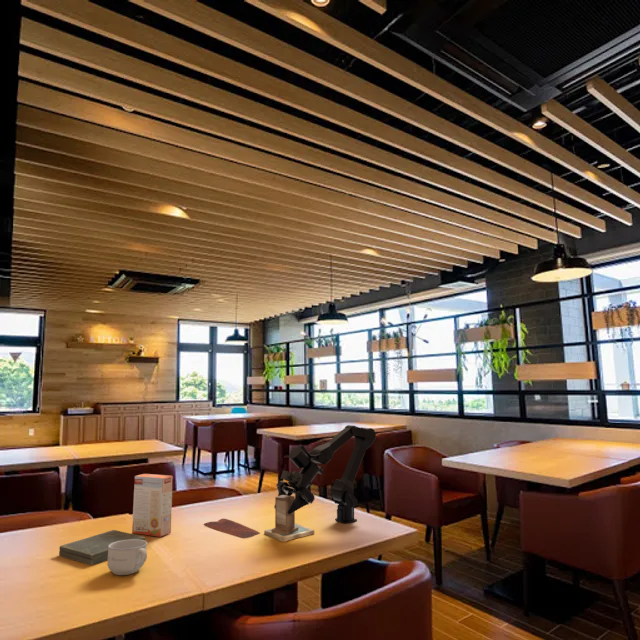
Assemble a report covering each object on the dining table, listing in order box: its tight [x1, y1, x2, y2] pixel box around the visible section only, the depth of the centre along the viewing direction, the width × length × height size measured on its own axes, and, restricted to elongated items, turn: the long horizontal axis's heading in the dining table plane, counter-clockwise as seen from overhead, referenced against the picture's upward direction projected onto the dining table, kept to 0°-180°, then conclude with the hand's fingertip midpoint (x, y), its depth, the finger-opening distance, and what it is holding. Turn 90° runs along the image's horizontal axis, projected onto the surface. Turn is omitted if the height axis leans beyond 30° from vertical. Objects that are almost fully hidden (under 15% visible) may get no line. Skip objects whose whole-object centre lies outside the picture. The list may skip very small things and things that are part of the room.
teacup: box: [107, 539, 148, 576], centre depth 137 cm, size 14×11×8 cm
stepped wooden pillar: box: [271, 495, 298, 535], centre depth 172 cm, size 7×7×12 cm
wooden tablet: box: [203, 518, 261, 539], centre depth 179 cm, size 27×10×2 cm, turn 45°
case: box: [58, 529, 146, 566], centre depth 156 cm, size 18×4×20 cm
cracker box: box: [131, 473, 174, 538], centre depth 176 cm, size 14×6×21 cm, turn 65°
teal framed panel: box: [263, 522, 315, 543], centre depth 172 cm, size 14×12×1 cm
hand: (281, 510), depth 171 cm, fingers open, 9 cm apart
